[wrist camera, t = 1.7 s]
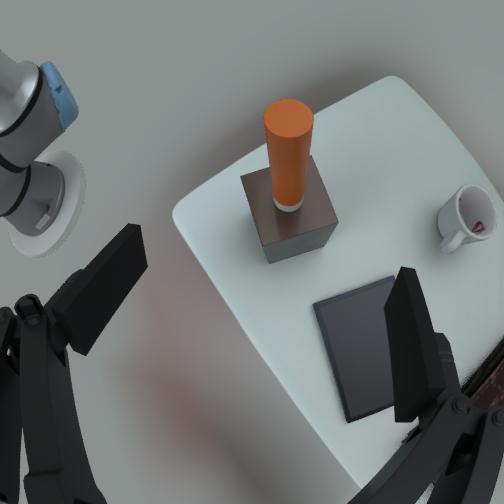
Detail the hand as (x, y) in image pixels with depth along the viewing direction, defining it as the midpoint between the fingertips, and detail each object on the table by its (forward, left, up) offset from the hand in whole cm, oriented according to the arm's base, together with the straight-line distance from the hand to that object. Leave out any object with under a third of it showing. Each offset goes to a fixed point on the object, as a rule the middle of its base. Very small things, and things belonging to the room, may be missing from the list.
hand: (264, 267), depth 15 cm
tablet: (+10, -12, -27) cm, 31 cm away
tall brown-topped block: (+4, +8, -27) cm, 28 cm away
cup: (+28, 0, -27) cm, 39 cm away
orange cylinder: (+4, +8, -15) cm, 17 cm away
